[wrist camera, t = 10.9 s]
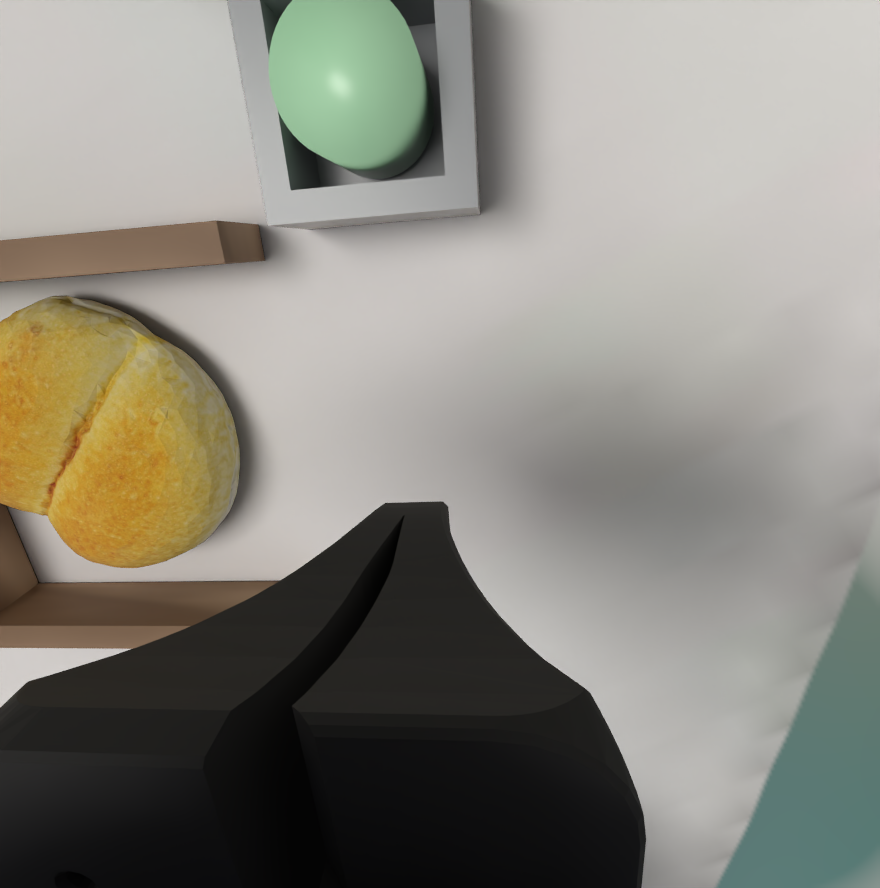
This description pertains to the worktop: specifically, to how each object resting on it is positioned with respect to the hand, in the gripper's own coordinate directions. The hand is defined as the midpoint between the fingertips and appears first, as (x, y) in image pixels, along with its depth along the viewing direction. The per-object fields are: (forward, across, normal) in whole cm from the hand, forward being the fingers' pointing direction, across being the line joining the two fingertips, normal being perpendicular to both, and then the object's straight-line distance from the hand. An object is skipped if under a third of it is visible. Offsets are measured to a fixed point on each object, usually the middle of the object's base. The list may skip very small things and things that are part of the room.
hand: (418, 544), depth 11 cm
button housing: (+6, +1, -9) cm, 11 cm away
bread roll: (+7, +11, -1) cm, 13 cm away
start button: (+5, +1, -9) cm, 11 cm away
